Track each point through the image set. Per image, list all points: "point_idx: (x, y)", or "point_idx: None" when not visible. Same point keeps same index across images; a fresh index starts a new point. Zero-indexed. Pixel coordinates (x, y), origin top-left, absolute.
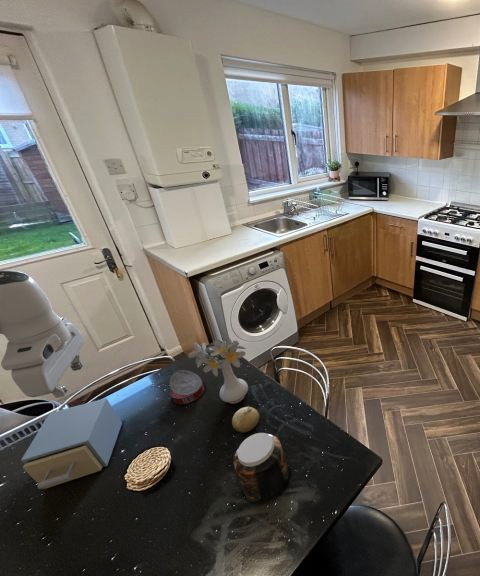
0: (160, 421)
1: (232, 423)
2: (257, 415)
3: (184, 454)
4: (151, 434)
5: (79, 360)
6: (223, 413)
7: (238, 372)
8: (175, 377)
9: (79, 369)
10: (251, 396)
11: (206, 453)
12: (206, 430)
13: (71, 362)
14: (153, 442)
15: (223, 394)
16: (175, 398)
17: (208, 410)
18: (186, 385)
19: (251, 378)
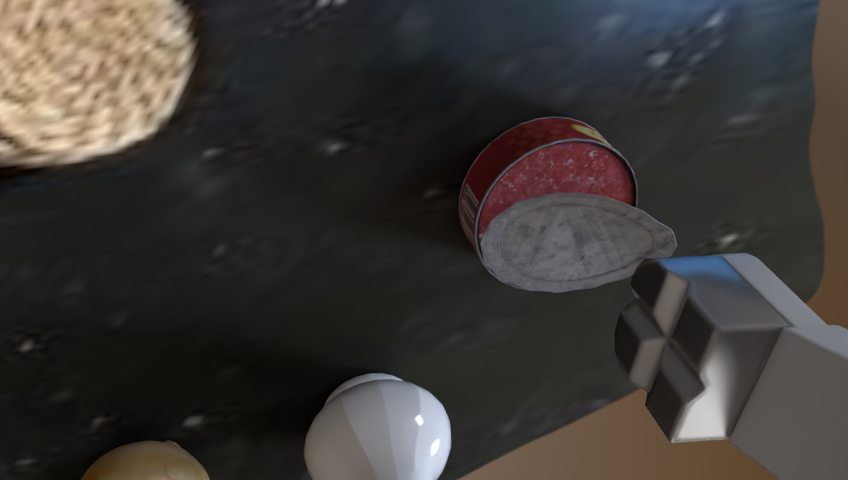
0: (392, 67)
1: (124, 474)
2: None
3: (63, 224)
4: (307, 30)
5: (763, 461)
6: (281, 365)
7: (544, 398)
8: (631, 221)
9: (618, 331)
10: None
11: (28, 322)
12: (196, 305)
13: (807, 355)
14: (232, 50)
15: (348, 437)
16: (503, 168)
17: (342, 298)
18: (551, 245)
19: (462, 452)
